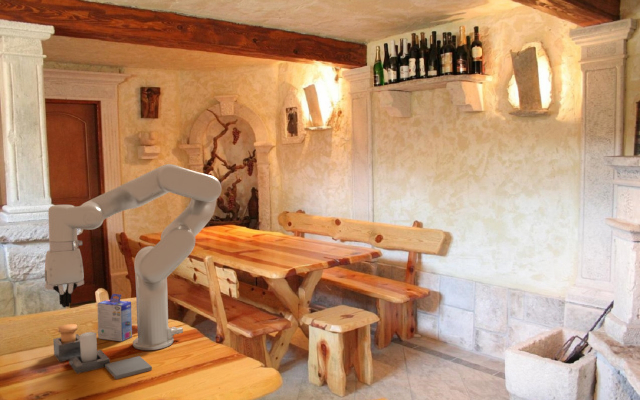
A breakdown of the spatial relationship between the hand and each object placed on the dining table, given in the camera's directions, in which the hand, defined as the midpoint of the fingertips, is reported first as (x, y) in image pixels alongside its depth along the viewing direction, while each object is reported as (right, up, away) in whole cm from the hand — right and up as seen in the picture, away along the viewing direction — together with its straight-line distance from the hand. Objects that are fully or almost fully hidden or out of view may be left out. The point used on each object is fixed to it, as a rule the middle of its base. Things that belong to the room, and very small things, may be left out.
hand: (65, 306), depth 162 cm
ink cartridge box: (+9, -14, +17) cm, 24 cm away
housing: (0, -15, +2) cm, 16 cm away
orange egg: (0, -12, +1) cm, 12 cm away
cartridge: (+9, -16, -5) cm, 19 cm away
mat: (+22, -16, -8) cm, 28 cm away
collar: (+9, -16, -5) cm, 19 cm away
